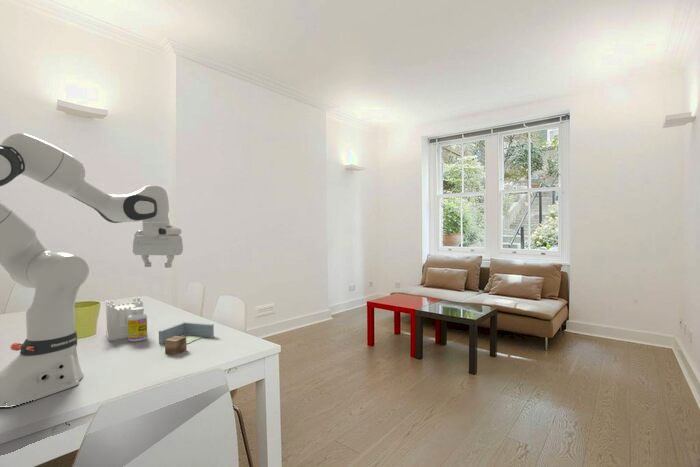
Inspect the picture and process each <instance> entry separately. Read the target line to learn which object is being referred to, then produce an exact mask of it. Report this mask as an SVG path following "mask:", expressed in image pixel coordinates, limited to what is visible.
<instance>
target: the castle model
mask: <svg viewBox="0 0 700 467" xmlns="http://www.w3.org/2000/svg"><path fill="white" fill-rule="evenodd" d="M136 307H143V308H144V302H143V300H141V297H140V296H134V297H132V302H126V303H125V302H124V303H122V304H120V303H117V305H116V304H115V303H114V300H113V299H110V300H105V311H106V312H105V313H106V331H105V332H106V338H107V341H108V342H109V341H115V340H116V341H117V340H121V339H127V338H128V317H129V316H130V315H131V309H132V308H136Z"/></svg>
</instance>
